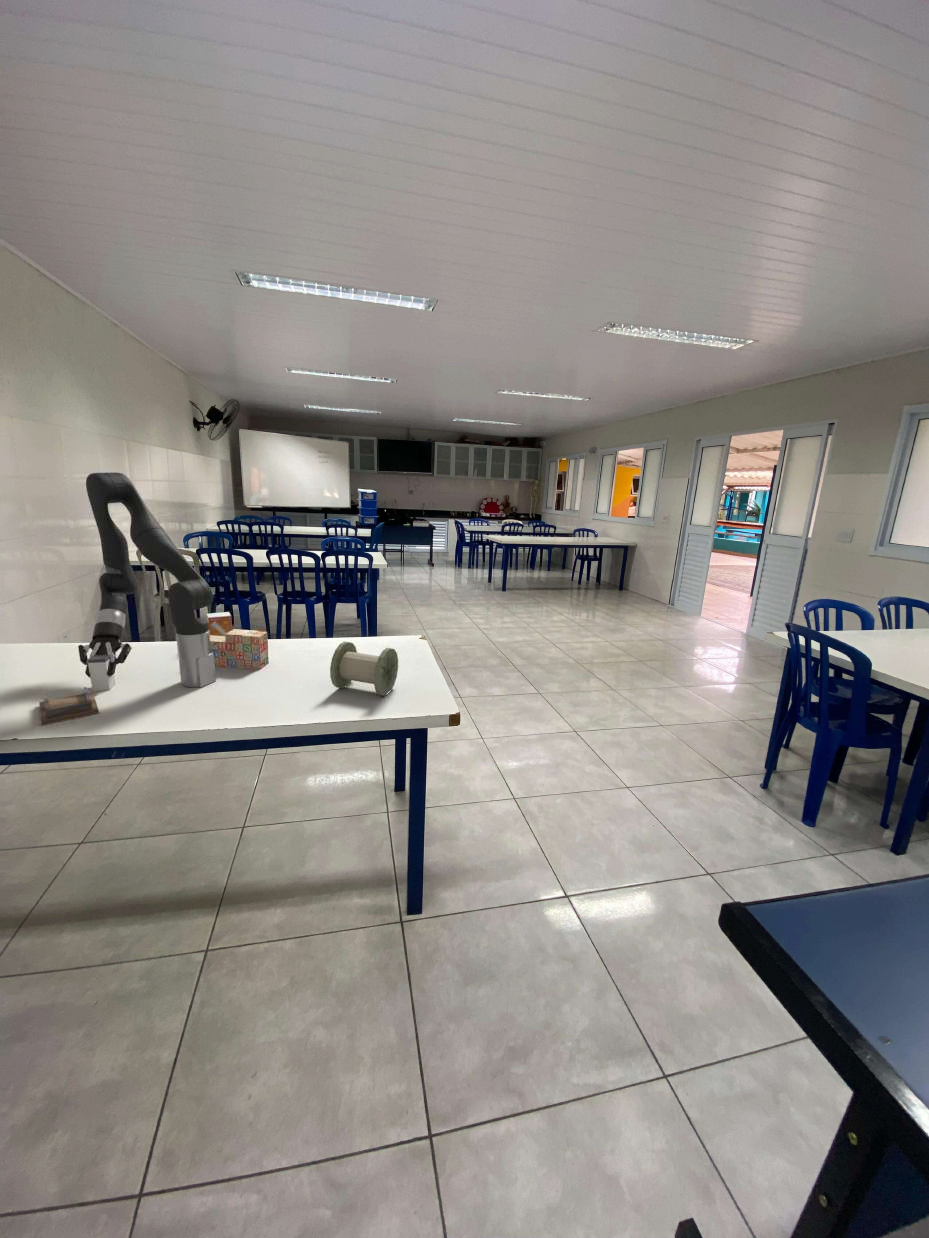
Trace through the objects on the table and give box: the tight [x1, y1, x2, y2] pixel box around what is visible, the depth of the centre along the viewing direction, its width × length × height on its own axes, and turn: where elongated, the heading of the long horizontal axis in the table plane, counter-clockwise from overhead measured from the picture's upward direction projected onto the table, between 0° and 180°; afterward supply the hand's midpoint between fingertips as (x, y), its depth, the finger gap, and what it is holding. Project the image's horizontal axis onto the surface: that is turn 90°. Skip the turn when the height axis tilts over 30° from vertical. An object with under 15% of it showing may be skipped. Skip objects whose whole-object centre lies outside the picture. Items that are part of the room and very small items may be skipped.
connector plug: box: [88, 654, 116, 692], centre depth 147 cm, size 4×4×10 cm
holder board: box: [38, 686, 100, 726], centre depth 133 cm, size 14×12×3 cm
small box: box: [205, 611, 233, 636], centre depth 188 cm, size 8×6×13 cm
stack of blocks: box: [210, 628, 269, 670], centre depth 171 cm, size 21×6×12 cm, turn 86°
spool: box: [329, 641, 399, 697], centre depth 156 cm, size 16×15×15 cm
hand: (99, 675), depth 145 cm, fingers closed on connector plug, 4 cm apart
